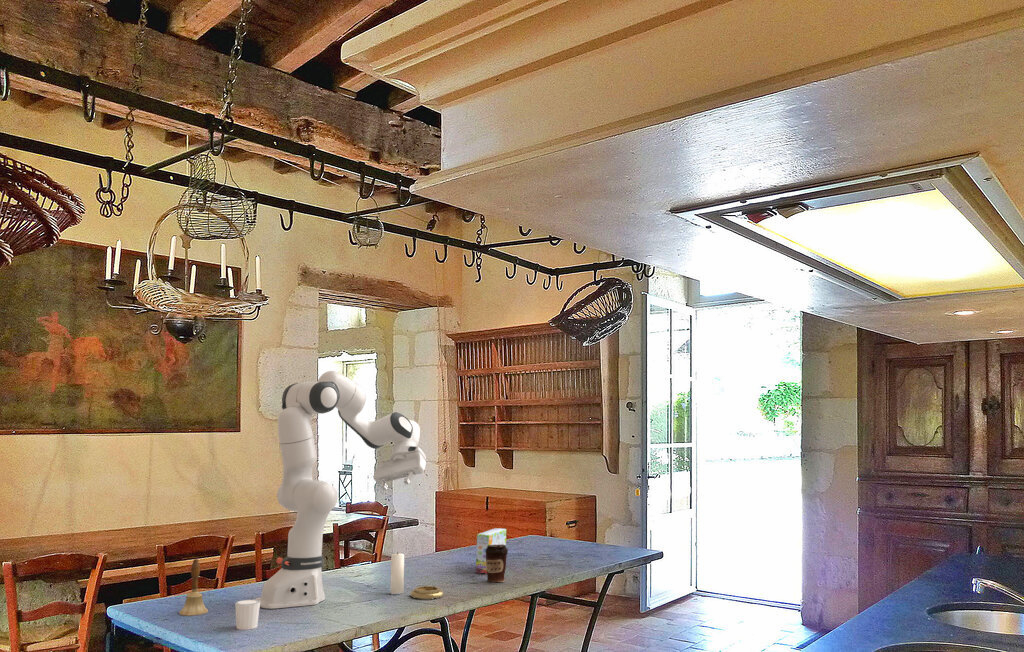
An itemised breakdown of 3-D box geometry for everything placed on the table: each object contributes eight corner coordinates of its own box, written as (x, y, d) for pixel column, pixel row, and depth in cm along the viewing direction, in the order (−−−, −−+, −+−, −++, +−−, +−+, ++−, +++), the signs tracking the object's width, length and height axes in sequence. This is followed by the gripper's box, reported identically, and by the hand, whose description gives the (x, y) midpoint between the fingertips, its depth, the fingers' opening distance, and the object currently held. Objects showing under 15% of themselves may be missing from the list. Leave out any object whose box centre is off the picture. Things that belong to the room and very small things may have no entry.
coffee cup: (504, 584, 291) (505, 547, 293) (482, 583, 293) (482, 546, 294) (509, 579, 300) (509, 544, 301) (488, 578, 301) (488, 543, 303)
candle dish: (421, 601, 263) (421, 593, 263) (404, 595, 271) (405, 587, 272) (449, 596, 269) (450, 589, 270) (432, 591, 278) (432, 584, 278)
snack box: (488, 574, 310) (489, 534, 312) (475, 573, 312) (475, 533, 313) (506, 565, 330) (506, 528, 332) (493, 564, 332) (494, 527, 333)
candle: (394, 595, 272) (395, 553, 273) (388, 593, 275) (389, 551, 277) (405, 593, 274) (406, 552, 276) (399, 591, 278) (400, 550, 279)
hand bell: (207, 615, 243) (209, 560, 245) (177, 616, 240) (180, 562, 242) (209, 608, 251) (211, 556, 252) (180, 610, 248) (183, 557, 250)
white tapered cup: (228, 628, 226) (230, 603, 227) (245, 623, 233) (246, 598, 234) (248, 631, 224) (249, 605, 225) (264, 625, 230) (265, 600, 231)
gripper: (374, 457, 300) (366, 486, 289) (422, 445, 293) (415, 474, 283) (383, 468, 303) (375, 497, 293) (430, 456, 297) (423, 485, 286)
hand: (395, 486), depth 288 cm, fingers open, 8 cm apart
